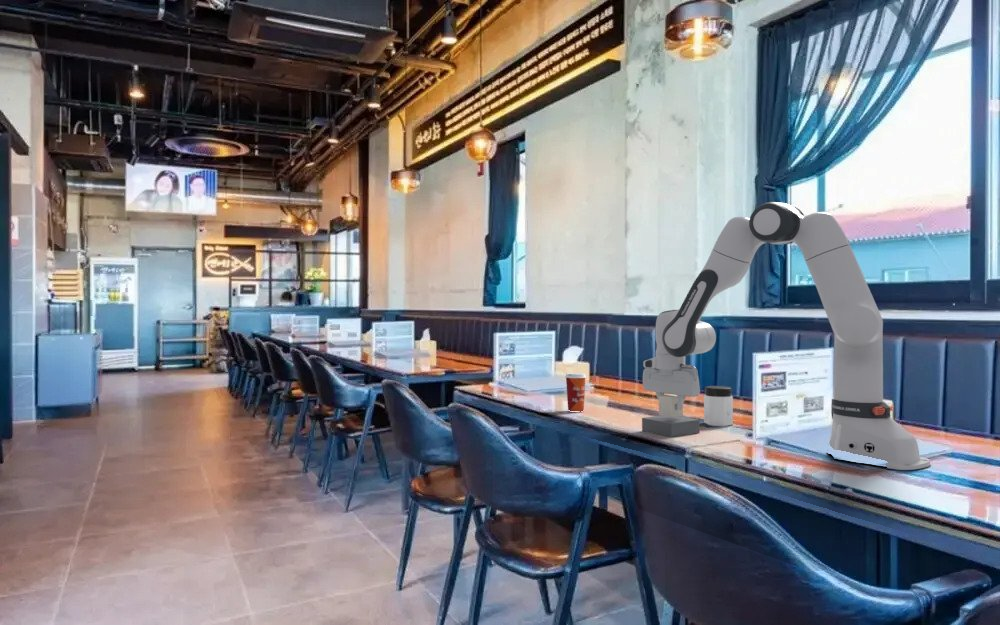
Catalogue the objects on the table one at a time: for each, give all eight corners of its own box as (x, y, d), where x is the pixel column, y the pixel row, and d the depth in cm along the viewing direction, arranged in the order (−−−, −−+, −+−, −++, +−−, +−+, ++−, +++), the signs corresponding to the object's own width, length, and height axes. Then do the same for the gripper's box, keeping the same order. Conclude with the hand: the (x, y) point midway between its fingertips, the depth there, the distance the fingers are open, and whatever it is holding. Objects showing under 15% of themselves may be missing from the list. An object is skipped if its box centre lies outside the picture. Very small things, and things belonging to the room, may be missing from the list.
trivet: (699, 432, 197) (699, 419, 197) (671, 437, 191) (671, 423, 190) (669, 426, 207) (669, 414, 207) (642, 430, 201) (642, 417, 201)
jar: (719, 427, 206) (719, 389, 206) (699, 423, 213) (699, 386, 213) (737, 424, 211) (737, 387, 211) (716, 421, 218) (716, 385, 218)
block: (682, 415, 198) (682, 396, 198) (671, 417, 195) (671, 397, 195) (670, 413, 202) (670, 394, 202) (658, 415, 199) (658, 395, 199)
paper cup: (576, 413, 234) (576, 374, 234) (561, 411, 240) (560, 373, 239) (591, 411, 239) (590, 373, 239) (575, 409, 245) (575, 371, 245)
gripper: (704, 365, 192) (704, 412, 192) (653, 360, 209) (653, 403, 209) (689, 366, 188) (689, 413, 188) (639, 361, 205) (639, 405, 206)
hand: (670, 408), depth 199 cm, fingers closed on block, 5 cm apart
